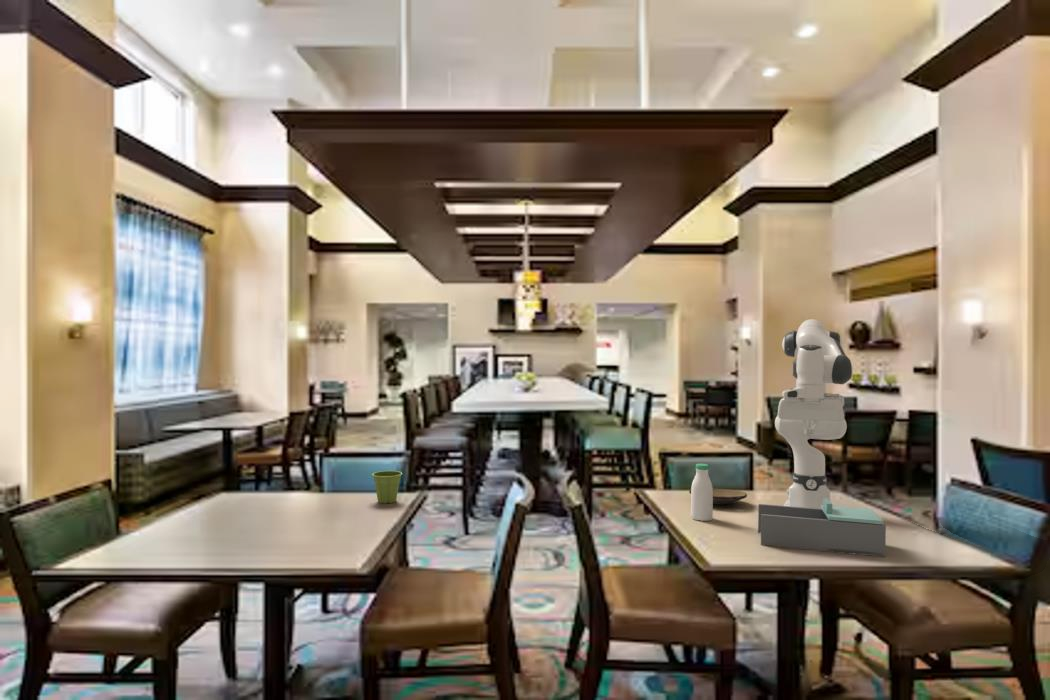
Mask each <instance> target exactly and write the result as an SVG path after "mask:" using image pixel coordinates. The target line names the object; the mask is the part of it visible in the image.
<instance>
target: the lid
mask: <svg viewBox="0 0 1050 700" xmlns="http://www.w3.org/2000/svg"><path fill="white" fill-rule="evenodd" d="M821 509H822V510H823V512H824V513H825V515H826V516H827V518H828V519H829V520H838V521H850V522H862V523H873V524H884V520H883V519H882V518H881V517H880V516H879V515H878V513H876V512H875V511H874V510H873V509H872V508H866V507H865V508H864V507H852V506H839V505H833V503H832V502H830V500H829V499H823V505H821ZM884 525H885V524H884Z"/></svg>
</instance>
